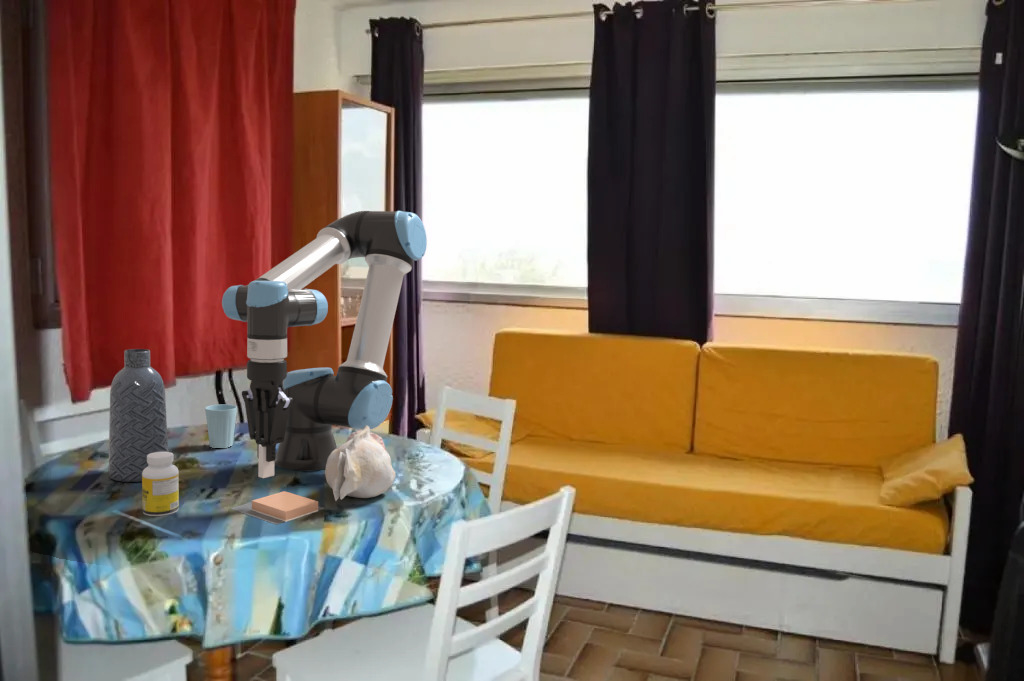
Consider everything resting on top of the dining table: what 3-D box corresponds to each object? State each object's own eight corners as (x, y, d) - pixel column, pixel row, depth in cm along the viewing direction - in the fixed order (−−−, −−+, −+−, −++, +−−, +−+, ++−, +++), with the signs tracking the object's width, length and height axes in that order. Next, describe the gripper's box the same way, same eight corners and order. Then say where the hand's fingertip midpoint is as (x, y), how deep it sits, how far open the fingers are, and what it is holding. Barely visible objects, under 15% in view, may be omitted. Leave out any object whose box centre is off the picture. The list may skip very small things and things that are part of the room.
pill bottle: (149, 507, 154) (149, 450, 152) (183, 507, 154) (183, 450, 153) (137, 518, 147) (136, 458, 146) (172, 518, 148) (171, 459, 146)
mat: (229, 510, 153) (229, 508, 153) (278, 496, 163) (278, 494, 163) (276, 527, 146) (276, 524, 145) (325, 510, 155) (325, 508, 155)
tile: (251, 500, 152) (285, 511, 147) (284, 491, 159) (318, 501, 153) (251, 510, 153) (285, 521, 147) (284, 500, 159) (318, 511, 154)
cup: (240, 448, 200) (240, 408, 199) (209, 451, 196) (209, 411, 194) (232, 441, 206) (232, 403, 205) (202, 445, 202) (201, 405, 201)
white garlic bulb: (412, 495, 167) (413, 427, 166) (340, 515, 153) (341, 441, 151) (364, 479, 178) (365, 414, 176) (292, 497, 163) (293, 427, 161)
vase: (100, 474, 174) (97, 349, 171) (155, 464, 183) (153, 345, 179) (121, 486, 166) (119, 355, 162) (178, 476, 174) (176, 351, 171)
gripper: (230, 357, 153) (230, 473, 156) (273, 364, 146) (272, 486, 149) (261, 354, 159) (261, 466, 162) (304, 361, 152) (303, 478, 155)
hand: (266, 476), depth 155 cm, fingers closed
